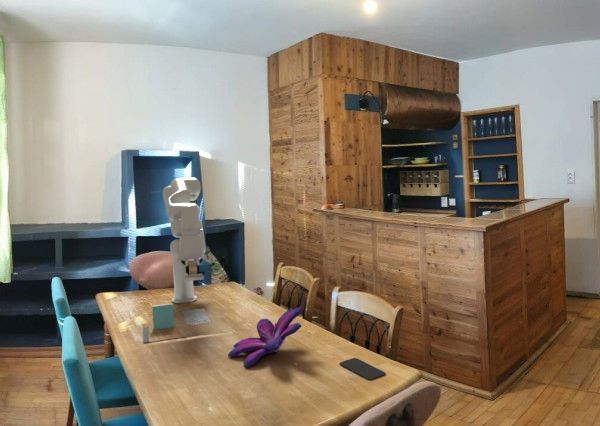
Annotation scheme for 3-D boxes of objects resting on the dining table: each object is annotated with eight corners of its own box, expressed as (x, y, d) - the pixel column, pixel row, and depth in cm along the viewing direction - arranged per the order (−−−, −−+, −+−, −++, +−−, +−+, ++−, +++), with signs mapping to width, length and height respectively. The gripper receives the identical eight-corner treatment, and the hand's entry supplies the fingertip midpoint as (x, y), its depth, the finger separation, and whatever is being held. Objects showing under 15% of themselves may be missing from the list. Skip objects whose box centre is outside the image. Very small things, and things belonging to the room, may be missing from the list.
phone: (369, 379, 133) (337, 362, 145) (369, 382, 133) (337, 365, 146) (387, 373, 137) (355, 357, 149) (387, 375, 137) (355, 359, 150)
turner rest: (182, 313, 207) (182, 311, 207) (204, 310, 211) (203, 308, 211) (186, 327, 187) (186, 325, 187) (210, 324, 190) (210, 322, 190)
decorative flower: (246, 393, 139) (231, 366, 137) (233, 363, 168) (220, 340, 167) (328, 339, 146) (314, 313, 145) (302, 319, 176) (290, 297, 175)
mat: (143, 328, 187) (143, 327, 187) (182, 323, 192) (182, 322, 192) (143, 343, 170) (143, 342, 170) (186, 337, 175) (186, 336, 175)
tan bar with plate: (182, 272, 204) (182, 259, 203) (198, 271, 206) (197, 258, 206) (186, 281, 187) (186, 266, 186) (203, 279, 189) (203, 265, 189)
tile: (153, 329, 184) (152, 305, 184) (173, 326, 187) (172, 303, 186) (153, 330, 182) (152, 306, 182) (174, 328, 185) (172, 304, 184)
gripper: (208, 230, 202) (210, 270, 204) (170, 233, 197) (172, 274, 198) (210, 232, 195) (212, 274, 197) (171, 235, 190) (174, 277, 191)
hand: (192, 273), depth 197 cm, fingers closed on tan bar with plate, 3 cm apart
